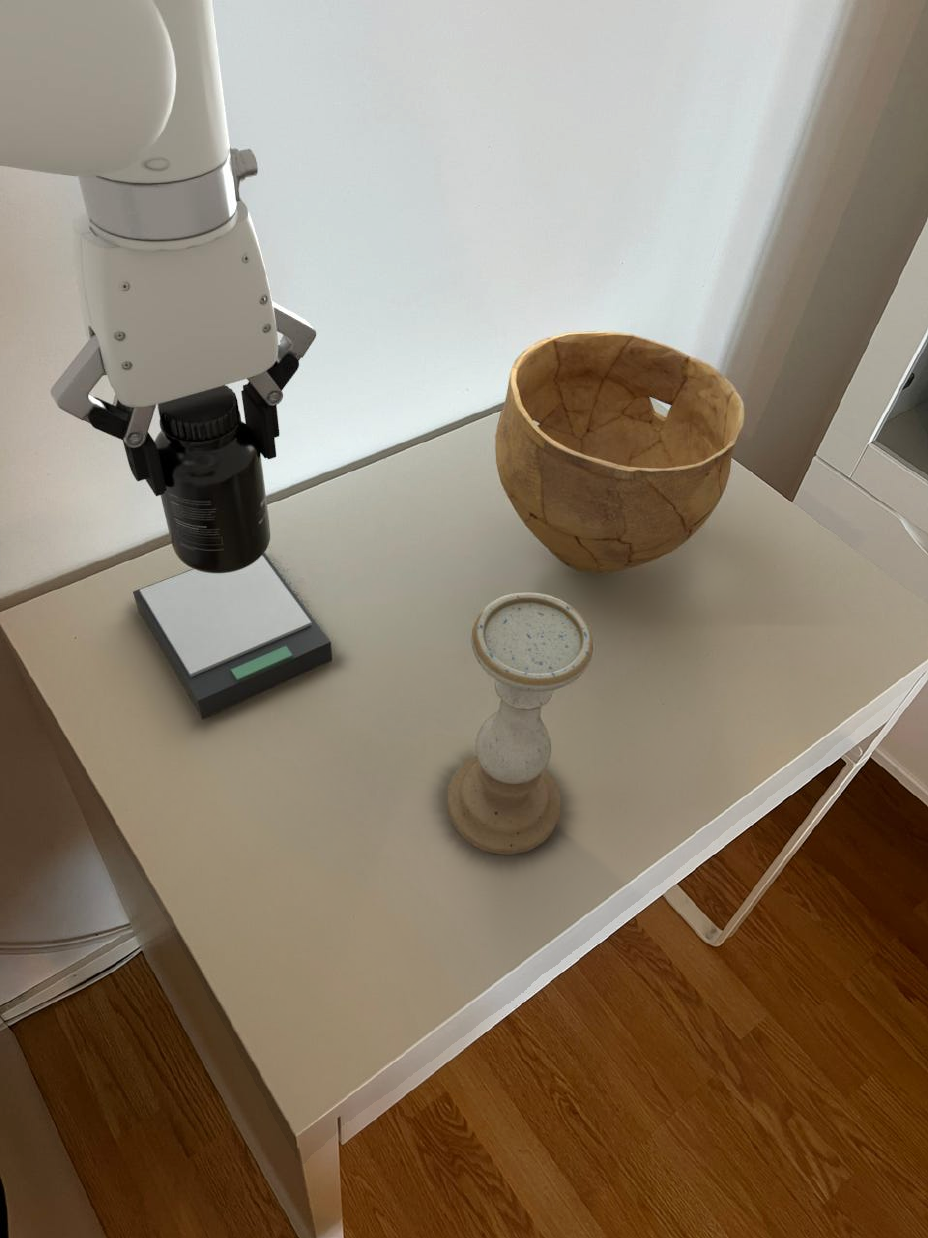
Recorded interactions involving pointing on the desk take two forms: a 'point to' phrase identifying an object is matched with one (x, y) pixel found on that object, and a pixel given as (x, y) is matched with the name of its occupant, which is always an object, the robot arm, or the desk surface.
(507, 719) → the candle holder
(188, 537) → the supplement bottle
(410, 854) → the desk surface
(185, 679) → the scale
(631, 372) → the bowl
